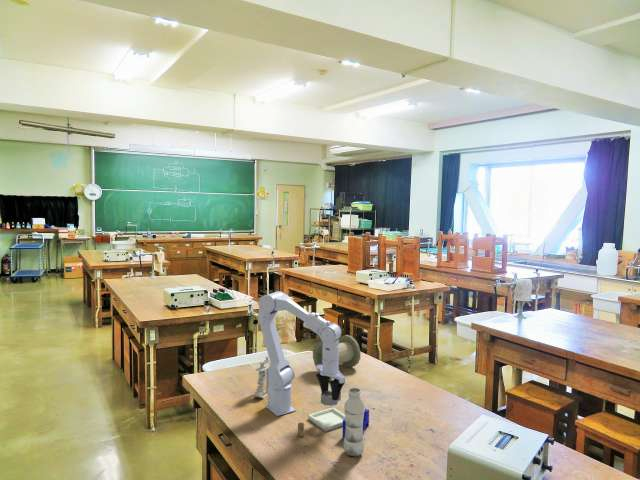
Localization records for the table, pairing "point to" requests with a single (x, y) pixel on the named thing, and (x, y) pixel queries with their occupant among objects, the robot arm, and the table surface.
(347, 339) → the spool
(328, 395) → the grey octagonal ring
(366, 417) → the cable clip
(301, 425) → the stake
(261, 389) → the white figurine
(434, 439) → the table surface
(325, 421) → the tray
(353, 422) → the plastic bottle
